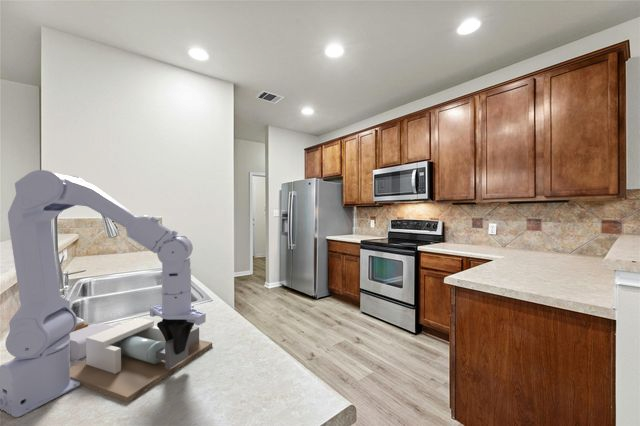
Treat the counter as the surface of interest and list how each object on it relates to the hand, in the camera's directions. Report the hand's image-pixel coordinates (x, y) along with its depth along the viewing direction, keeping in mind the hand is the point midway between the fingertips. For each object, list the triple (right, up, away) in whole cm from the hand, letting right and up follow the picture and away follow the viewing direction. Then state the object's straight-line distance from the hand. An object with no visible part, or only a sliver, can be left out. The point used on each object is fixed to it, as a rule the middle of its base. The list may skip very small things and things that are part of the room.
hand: (177, 351), depth 59 cm
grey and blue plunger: (-7, -4, +3) cm, 9 cm away
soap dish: (-43, -5, +16) cm, 47 cm away
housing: (-11, -4, +7) cm, 14 cm away
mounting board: (-11, -5, +5) cm, 13 cm away
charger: (-29, -5, +14) cm, 32 cm away
